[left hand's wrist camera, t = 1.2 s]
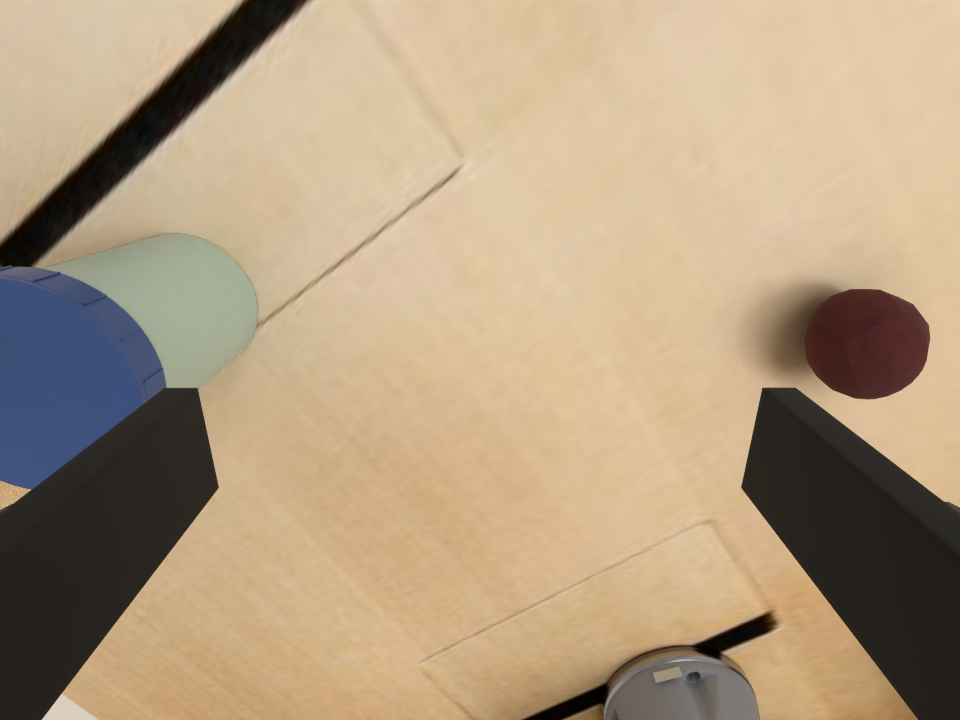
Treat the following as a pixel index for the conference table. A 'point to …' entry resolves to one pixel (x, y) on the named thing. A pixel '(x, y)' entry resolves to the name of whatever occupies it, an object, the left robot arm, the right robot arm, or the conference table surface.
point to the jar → (177, 300)
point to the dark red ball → (867, 343)
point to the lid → (64, 370)
